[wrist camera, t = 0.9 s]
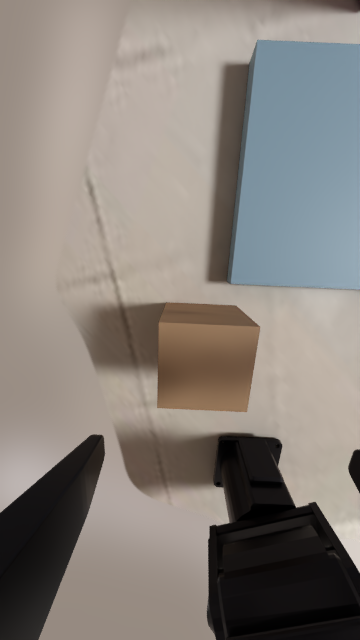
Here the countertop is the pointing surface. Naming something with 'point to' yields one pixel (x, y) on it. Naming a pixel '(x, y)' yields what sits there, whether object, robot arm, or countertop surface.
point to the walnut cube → (205, 357)
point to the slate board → (299, 168)
